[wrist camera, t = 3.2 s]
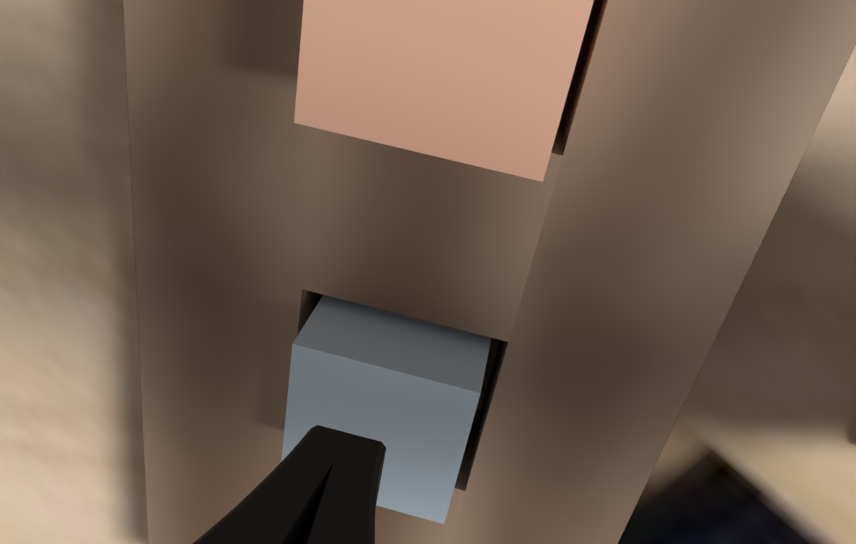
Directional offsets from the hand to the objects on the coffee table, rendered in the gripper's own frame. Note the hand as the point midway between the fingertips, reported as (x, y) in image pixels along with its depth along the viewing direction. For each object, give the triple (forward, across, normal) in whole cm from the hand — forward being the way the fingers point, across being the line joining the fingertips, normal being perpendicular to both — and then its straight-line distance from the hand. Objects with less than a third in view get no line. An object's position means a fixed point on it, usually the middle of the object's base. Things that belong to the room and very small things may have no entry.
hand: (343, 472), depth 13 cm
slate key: (+7, 0, +2) cm, 7 cm away
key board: (+9, 0, +2) cm, 10 cm away
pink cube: (+6, 0, -8) cm, 10 cm away
